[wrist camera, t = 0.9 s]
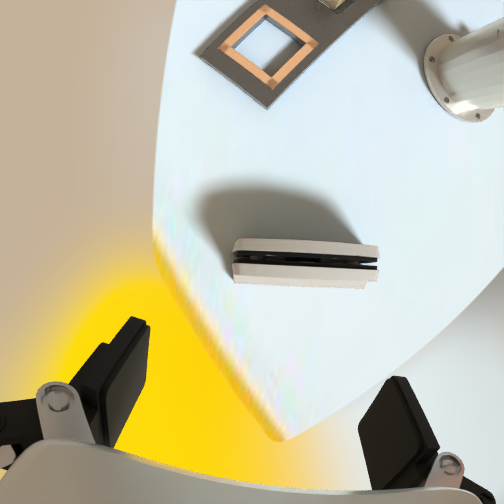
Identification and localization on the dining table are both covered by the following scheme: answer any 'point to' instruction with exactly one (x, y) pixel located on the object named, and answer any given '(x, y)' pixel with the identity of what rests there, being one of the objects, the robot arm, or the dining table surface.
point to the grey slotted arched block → (304, 263)
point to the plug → (333, 3)
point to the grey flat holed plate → (293, 24)
